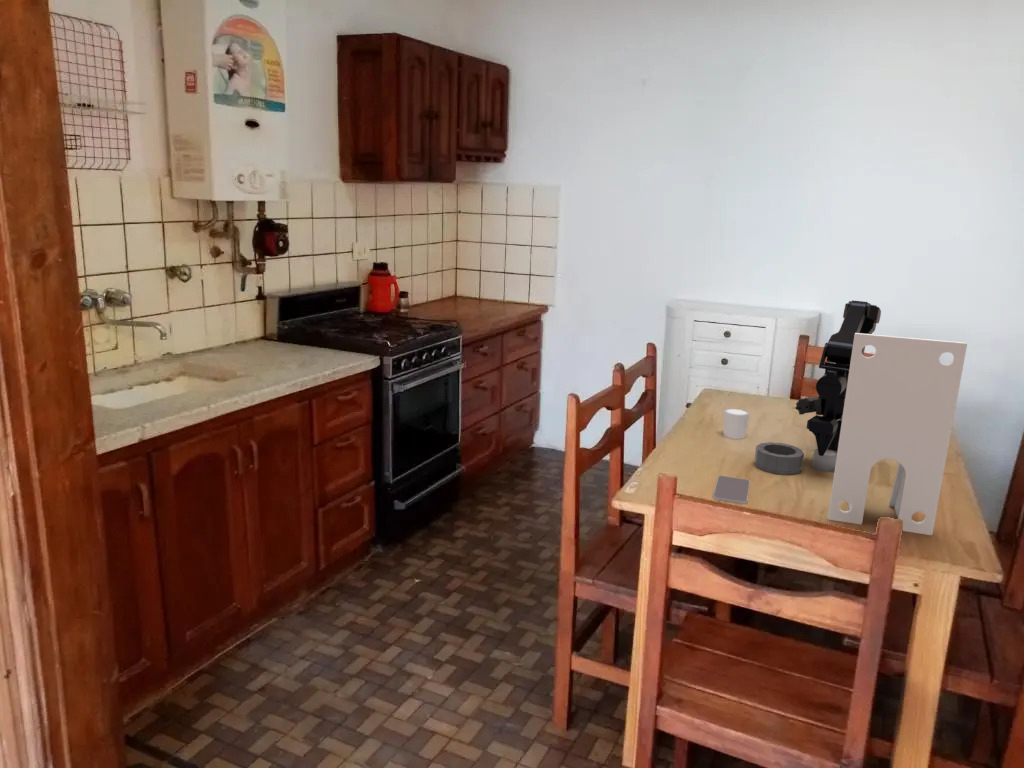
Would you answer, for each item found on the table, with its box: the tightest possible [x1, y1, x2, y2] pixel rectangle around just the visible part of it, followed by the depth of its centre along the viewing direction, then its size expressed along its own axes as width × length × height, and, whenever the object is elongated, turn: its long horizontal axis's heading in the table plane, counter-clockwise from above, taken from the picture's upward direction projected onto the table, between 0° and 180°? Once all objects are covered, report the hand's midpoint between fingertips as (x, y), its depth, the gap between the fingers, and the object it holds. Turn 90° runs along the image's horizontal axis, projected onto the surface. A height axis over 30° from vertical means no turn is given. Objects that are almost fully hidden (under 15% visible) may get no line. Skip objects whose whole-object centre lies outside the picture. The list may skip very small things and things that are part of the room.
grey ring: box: [754, 441, 805, 476], centre depth 200 cm, size 11×11×4 cm
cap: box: [811, 448, 837, 473], centre depth 201 cm, size 6×6×4 cm
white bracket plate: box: [827, 333, 968, 536], centre depth 169 cm, size 20×14×40 cm
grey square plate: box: [712, 475, 751, 505], centre depth 185 cm, size 7×1×15 cm
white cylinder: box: [723, 408, 750, 440], centre depth 224 cm, size 7×7×7 cm
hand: (827, 451), depth 201 cm, fingers open, 9 cm apart
